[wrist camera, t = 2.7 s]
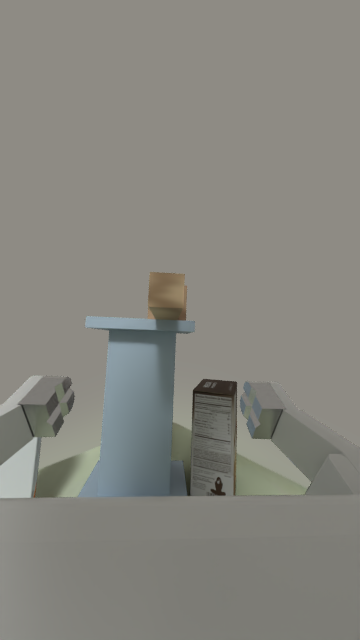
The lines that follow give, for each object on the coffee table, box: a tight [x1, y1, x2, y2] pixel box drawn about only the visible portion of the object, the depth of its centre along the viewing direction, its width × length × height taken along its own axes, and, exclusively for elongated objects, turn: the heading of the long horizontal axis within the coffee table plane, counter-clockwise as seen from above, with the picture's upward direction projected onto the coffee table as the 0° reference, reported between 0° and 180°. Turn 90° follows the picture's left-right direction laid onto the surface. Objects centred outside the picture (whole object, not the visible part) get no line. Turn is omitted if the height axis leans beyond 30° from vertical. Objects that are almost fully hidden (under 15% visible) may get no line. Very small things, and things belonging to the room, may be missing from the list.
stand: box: [78, 316, 195, 497], centre depth 30 cm, size 15×10×26 cm, turn 94°
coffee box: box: [190, 379, 237, 496], centre depth 31 cm, size 9×6×16 cm
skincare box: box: [0, 437, 42, 498], centre depth 23 cm, size 6×4×12 cm
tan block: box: [148, 272, 187, 321], centre depth 27 cm, size 6×20×6 cm, turn 4°
